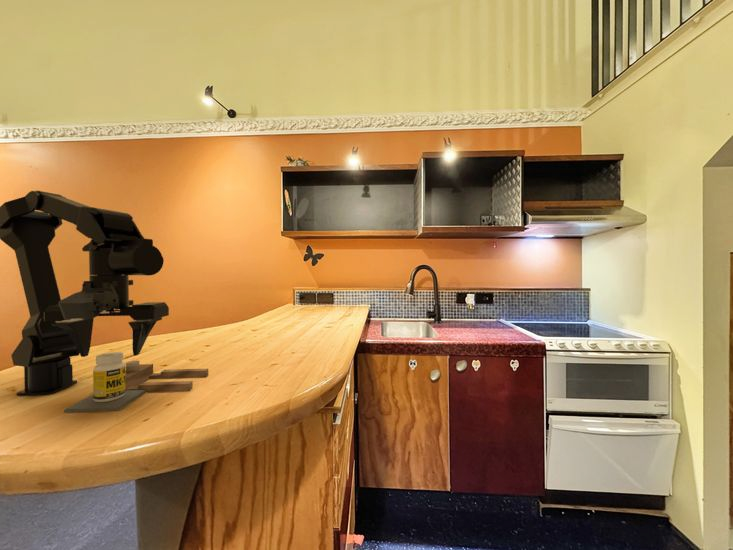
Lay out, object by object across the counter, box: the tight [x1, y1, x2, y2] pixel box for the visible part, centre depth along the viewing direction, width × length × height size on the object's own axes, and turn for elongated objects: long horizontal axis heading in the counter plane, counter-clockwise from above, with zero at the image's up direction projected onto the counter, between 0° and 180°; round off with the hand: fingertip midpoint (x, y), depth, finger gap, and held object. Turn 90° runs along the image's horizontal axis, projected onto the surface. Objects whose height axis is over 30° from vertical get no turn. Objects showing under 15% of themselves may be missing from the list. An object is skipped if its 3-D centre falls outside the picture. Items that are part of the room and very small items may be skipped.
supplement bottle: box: [92, 351, 126, 402], centre depth 58 cm, size 5×5×8 cm
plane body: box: [125, 360, 209, 394], centre depth 66 cm, size 16×10×5 cm, turn 96°
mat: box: [63, 390, 146, 414], centre depth 58 cm, size 9×9×1 cm
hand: (110, 355), depth 57 cm, fingers open, 9 cm apart
